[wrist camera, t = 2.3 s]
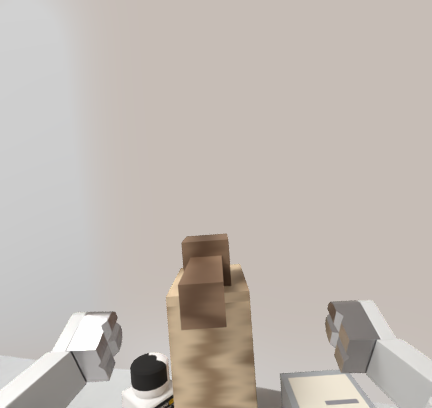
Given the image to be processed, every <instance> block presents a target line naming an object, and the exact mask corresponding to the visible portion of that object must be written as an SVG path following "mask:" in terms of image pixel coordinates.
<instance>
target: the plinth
mask: <svg viewBox="0 0 432 408" xmlns="http://www.w3.org/2000/svg"><path fill="white" fill-rule="evenodd" d="M280 380H281V395H282V408H376V407H375V406H374V404H373V403H372V402H371V401H370V399H369V398H368V397H367V395H366V394H365V393H364V391H363V390H362V389H361V387H360V386H359V385H358V383H357V382H356V381H355V380H354V378H353V377H352V376H351V374H350V373H341V371H340V370H327V371H311V372H298V373H282V374H280Z"/></svg>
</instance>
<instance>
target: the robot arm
mask: <svg viewBox="0 0 432 408" xmlns="http://www.w3.org/2000/svg"><path fill="white" fill-rule="evenodd" d="M328 311H329V315H328V316H327V317H326V322H325V325H326V333H327V337H328V340H329V342H330V344H331V345H332V346H333V347H335V348H336V349H335V354H334V355H335V358H336V361H337V363H338V366H339V369H340V371H341V373H366V375H367V376H368V377H369V378H370V379H371V380H372V381H373V382H374V383H375V384H376V385H377V386H378V387H379V388H380V389H381V390H382V391H383V392H384V393H385V394H386V395H387V396H388V397H389V398H390V399H391V400H392V401H393V402H394V403H395V404H396V405H397V406H398V407H399V408H432V360H431V359H430V358H429V357H427V356H426V355H424V354H423V353H421V352H420V351H419V350H417V349H416V348H414V347H413V346H411V345H410V344H408V343H407V342H406V341H404V340H403V339H397V337H396V336H395V334H394V333H393V331H392V329H391V328H390V326H389V325H388V323H387V321H386V320H385V318H384V317H383V316H382V313H381V312H380V310H379V309H378V307H377V305H376V304H375V302H373V301H372V300H359V301H337V302H330V303H329V304H328ZM116 321H117V315H116V312H76V313H74V314H73V315H72V316H71V318H70V319H69V321H68V323H67V325H66V327H65V328H64V330H63V332H62V334H61V336H60V337H59V339H58V341H57V343H56V345H55V346H54V348H53V350H52V352H47V353H46V354H45V355H43V356H42V357H41V358H40V359H38V360H37V361H36V362H35V363H33V364H32V365H31V366H30V367H28V368H27V369H26V370H25V371H24V372H22V373H21V374H20V375H19V376H17V377H16V378H15V379H14V380H12V381H11V382H10V383H9V384H7V385H6V386H5V387H4V388H2V389H1V390H0V408H66V407H67V406H68V405H69V403H70V402H71V401H72V400H73V399H74V398H75V396H76V395H77V394H78V393H79V392H80V391H81V389H82V388H83V387H84V386H85V385H86V382H99V381H109V380H110V377H111V374H112V371H113V368H114V365H115V361H114V358H113V357H114V356H115V355H116V354H117V353H118V352H119V350H120V347H121V343H122V329H121V326H120V325H119V324H118V323H116Z"/></svg>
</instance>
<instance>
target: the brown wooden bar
mask: <svg viewBox="0 0 432 408" xmlns="http://www.w3.org/2000/svg"><path fill="white" fill-rule="evenodd" d="M182 255H183V269H184V273H183V275H182V277H181V280H180V282H179V284H178V293H179V306H180V320H181V330H193V329H208V328H222V327H227V324H226V310H225V296H224V286H232V285H231V271H230V258H229V245H228V237H227V234H215V235H202V236H201V235H200V236H187V237H186V238H185V239H184V240H183V242H182Z"/></svg>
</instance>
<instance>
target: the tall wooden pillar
mask: <svg viewBox="0 0 432 408" xmlns="http://www.w3.org/2000/svg"><path fill="white" fill-rule="evenodd" d="M230 271H231V285H232V286H224V296H225V310H226V324H227V327H222V328H208V329H193V330H181V320H180V306H179V293H178V284H179V282H180V280H181V277H182V275H183V273H184V269H183V268H181V269H180V271H179V273H178V275H177V277H176V279H175V281H174V283H173V284H172V286H171V288H170V290H169V292H168V294H167V296H166V304H167V317H168V329H169V344H170V357H171V371H172V384H173V397H174V408H257V395H256V380H255V366H254V353H253V338H252V323H251V310H250V295H249V289H248V286H247V283H246V280H245V277H244V274H243V272H242V269H241V266H240V264H234V265H230Z"/></svg>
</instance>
